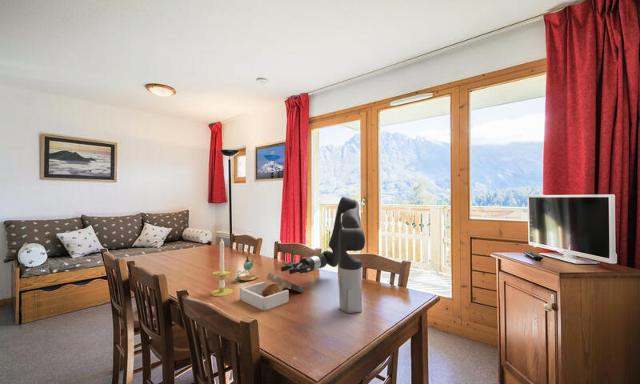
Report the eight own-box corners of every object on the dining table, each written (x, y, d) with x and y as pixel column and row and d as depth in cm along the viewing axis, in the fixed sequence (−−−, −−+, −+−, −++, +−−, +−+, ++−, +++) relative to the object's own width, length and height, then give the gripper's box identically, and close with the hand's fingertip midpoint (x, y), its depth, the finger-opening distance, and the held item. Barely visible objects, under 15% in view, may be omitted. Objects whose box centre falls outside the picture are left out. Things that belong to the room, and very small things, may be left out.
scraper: (288, 282, 143) (263, 270, 132) (304, 287, 135) (279, 275, 124) (285, 288, 142) (260, 277, 131) (302, 293, 134) (276, 282, 123)
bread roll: (285, 303, 131) (286, 285, 134) (279, 302, 122) (281, 282, 125) (264, 303, 132) (266, 285, 135) (257, 301, 123) (260, 282, 126)
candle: (225, 297, 129) (225, 239, 129) (206, 295, 131) (206, 238, 131) (236, 289, 139) (236, 235, 139) (218, 288, 141) (218, 235, 141)
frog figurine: (226, 281, 153) (229, 254, 155) (255, 278, 166) (257, 252, 167) (235, 285, 146) (237, 256, 148) (264, 281, 159) (266, 255, 160)
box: (263, 291, 136) (263, 281, 136) (288, 301, 124) (288, 290, 124) (239, 299, 127) (239, 288, 127) (264, 310, 114) (264, 298, 114)
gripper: (300, 254, 152) (276, 260, 139) (320, 259, 142) (295, 265, 129) (300, 268, 152) (276, 275, 139) (320, 273, 142) (295, 281, 129)
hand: (285, 270), depth 134 cm, fingers open, 5 cm apart
